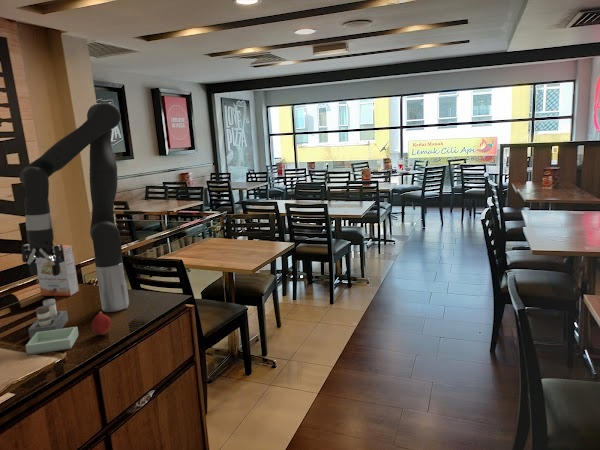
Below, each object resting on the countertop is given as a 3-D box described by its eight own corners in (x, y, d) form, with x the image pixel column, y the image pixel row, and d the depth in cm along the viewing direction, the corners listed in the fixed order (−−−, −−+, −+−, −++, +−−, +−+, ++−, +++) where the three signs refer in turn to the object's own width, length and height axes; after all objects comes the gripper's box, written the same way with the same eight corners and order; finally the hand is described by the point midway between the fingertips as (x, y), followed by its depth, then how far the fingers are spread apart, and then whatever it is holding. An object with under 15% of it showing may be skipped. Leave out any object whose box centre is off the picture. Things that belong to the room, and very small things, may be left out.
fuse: (60, 322, 155) (56, 298, 153) (57, 326, 151) (53, 301, 150) (48, 323, 154) (44, 299, 152) (45, 328, 150) (41, 303, 149)
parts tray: (78, 335, 143) (77, 326, 143) (70, 348, 134) (69, 339, 133) (38, 340, 140) (36, 332, 140) (27, 355, 131) (25, 345, 130)
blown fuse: (54, 330, 148) (50, 305, 146) (51, 334, 145) (46, 309, 143) (42, 332, 147) (38, 306, 146) (39, 336, 144) (34, 310, 142)
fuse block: (68, 319, 157) (66, 310, 156) (57, 335, 143) (55, 325, 143) (43, 323, 155) (41, 313, 154) (29, 339, 142) (28, 329, 141)
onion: (93, 340, 138) (90, 316, 137) (93, 334, 143) (89, 311, 142) (113, 336, 141) (110, 312, 139) (112, 329, 146) (108, 307, 144)
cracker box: (40, 296, 184) (32, 248, 180) (50, 291, 190) (42, 244, 186) (70, 296, 182) (62, 247, 178) (79, 291, 188) (72, 244, 184)
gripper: (66, 226, 147) (71, 272, 150) (30, 225, 150) (35, 271, 153) (49, 229, 140) (55, 278, 143) (11, 229, 143) (18, 277, 146)
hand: (45, 274), depth 148 cm, fingers open, 8 cm apart
